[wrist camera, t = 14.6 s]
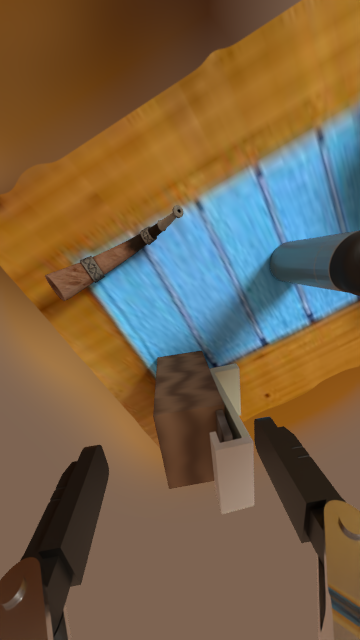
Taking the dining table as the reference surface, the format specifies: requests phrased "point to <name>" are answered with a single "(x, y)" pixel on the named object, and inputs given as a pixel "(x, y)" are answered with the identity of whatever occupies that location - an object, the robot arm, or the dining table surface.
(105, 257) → the drinking horn
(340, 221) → the dining table surface
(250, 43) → the dining table surface
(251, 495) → the white angled bracket
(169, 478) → the cabinet
